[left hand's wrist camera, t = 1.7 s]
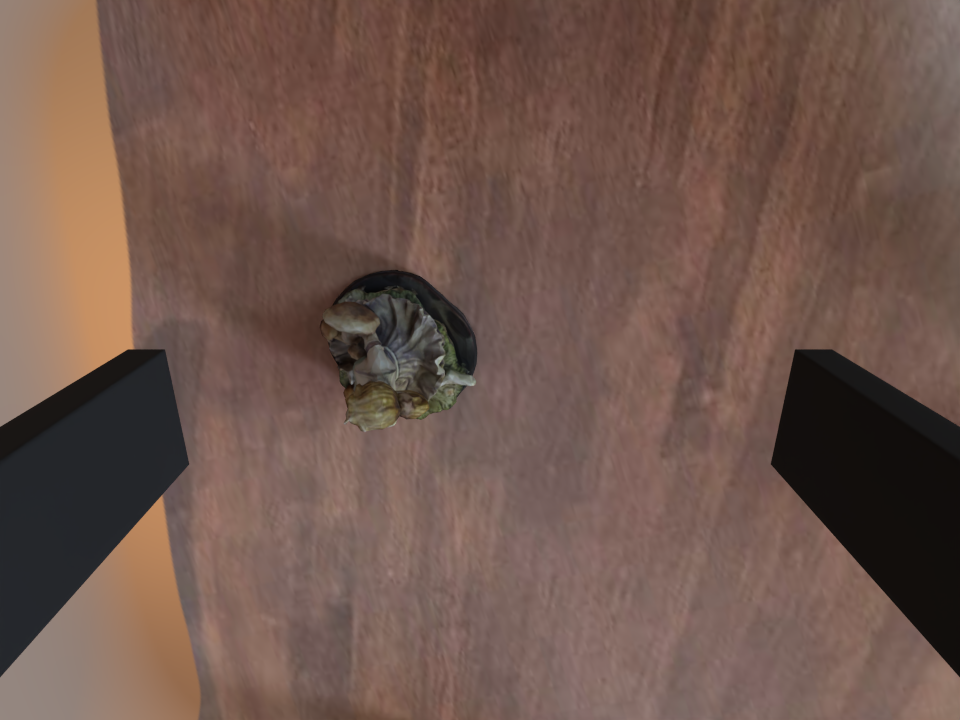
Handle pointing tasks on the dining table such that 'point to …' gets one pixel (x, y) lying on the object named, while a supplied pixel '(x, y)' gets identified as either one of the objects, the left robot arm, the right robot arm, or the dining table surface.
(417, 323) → the figurine
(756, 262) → the dining table surface
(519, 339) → the dining table surface
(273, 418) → the dining table surface
